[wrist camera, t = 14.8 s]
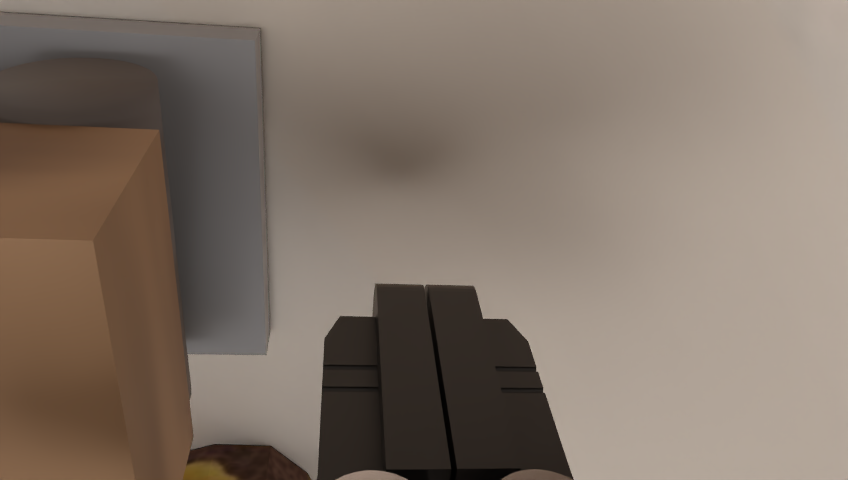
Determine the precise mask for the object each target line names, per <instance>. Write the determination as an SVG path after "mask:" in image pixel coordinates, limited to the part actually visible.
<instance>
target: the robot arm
mask: <svg viewBox="0 0 848 480" xmlns="http://www.w3.org/2000/svg"><path fill="white" fill-rule="evenodd" d="M317 480H574V479H573V477H572V474H571V471H570V468H569V465H568V462H567V459H566V456H565V453H564V450H563V447H562V444H561V441H560V438H559V435H558V432H557V429H556V426H555V423H554V420H553V417H552V413H551V410H550V407H549V404H548V401H547V398H546V395H545V393H543V386H542V383H541V380H540V377H539V374H538V372H536V365H535V362H534V359H533V355H532V352H531V349H530V346H529V343H528V341H527V340H526V339H525V338H524V337H523V336H522V335H521V334H520V332H519V331H518V330H517V329H516V328H515V327H514V326H513V325H512V324H511V323H510V322H509V321H508V320H507V319H483V317H482V313H481V309H480V306H479V302H478V298H477V294H476V290H475V288H474V286H455V285H426V286H425V289H424V286H423V285H408V284H375V290H374V303H373V317H353V316H340V317H339V318H338V320H337V321H336V323H335V324H334V326H333V327H332V329H331V330H330V331H329V333H328V334H327V336H326V337H325V341H324V361H323V381H322V401H321V421H320V441H319V461H318V477H317Z"/></svg>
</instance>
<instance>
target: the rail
mask: <svg viewBox="0 0 848 480" xmlns="http://www.w3.org/2000/svg"><path fill="white" fill-rule="evenodd" d="M60 58H104V59H113V60H120V61H126V62H130V63H134V64H137V65H140V66H143V67H145V68H147V69H149V70H151V71H152V72H153V73H154V74H155V75H156V76H157V79H158V87H159V97H160V106H161V115H162V124H163V134H164V143H165V152H166V161H167V170H168V180H169V189H170V198H171V207H172V216H173V226H174V235H175V244H176V253H177V263H178V272H179V281H180V290H181V299H182V309H183V318H184V327H185V336H186V346H187V354H232V355H266V354H267V348H268V342H269V335H270V318H269V287H268V256H267V225H266V194H265V162H264V131H263V100H262V69H261V38H260V28H247V27H231V26H215V25H198V24H182V23H166V22H150V21H134V20H117V19H101V18H85V17H69V16H53V15H36V14H20V13H4V12H0V71H2V70H4V69H7V68H10V67H13V66H17V65H21V64H25V63H30V62H35V61H42V60H50V59H60Z"/></svg>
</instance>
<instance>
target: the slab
mask: <svg viewBox="0 0 848 480" xmlns="http://www.w3.org/2000/svg"><path fill="white" fill-rule="evenodd" d="M190 397H191V382H190V373H189V364H188V355H187V346H186V336H185V327H184V318H183V309H182V299H181V290H180V281H179V272H178V263H177V253H176V244H175V235H174V226H173V216H172V207H171V198H170V189H169V180H168V170H167V161H166V152H165V143H164V134H163V124H162V115H161V106H160V97H159V87H158V79H157V76H156V75H155V74H154V73H153V72H152V71H151V70H149V69H147V68H145V67H143V66H140V65H137V64H134V63H130V62H126V61H120V60H113V59H104V58H60V59H50V60H42V61H35V62H30V63H25V64H21V65H17V66H13V67H10V68H7V69H4V70H2V71H0V480H183V476H184V472H185V468H186V464H187V460H188V456H189V452H190V448H191V444H192V441H193V428H192V419H191V410H190V401H189V400H190Z"/></svg>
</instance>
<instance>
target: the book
mask: <svg viewBox="0 0 848 480" xmlns="http://www.w3.org/2000/svg"><path fill="white" fill-rule="evenodd" d="M183 480H311V479H310V477H309V475H308V473H306V472H305V471H304V470H302V469H301V468H300V467H298V466H297V465H296V464H294V463H293V462H291V461H290V460H289V459H287V458H286V457H285V456H283V455H282V454H281V453H279V452H278V451H277V450H275V449H274V448H273V447H271V446H251V445H217V444H215V445H211V446H207V447H203V448H199V449H195V450H191V451H190V452H189V456H188V460H187V464H186V468H185V472H184V476H183Z"/></svg>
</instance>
